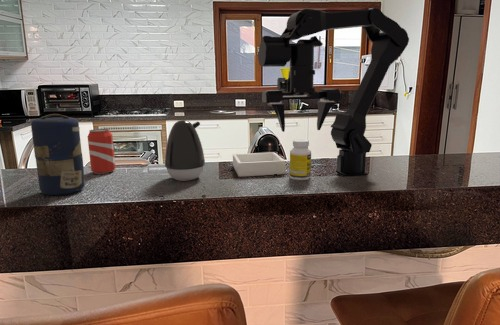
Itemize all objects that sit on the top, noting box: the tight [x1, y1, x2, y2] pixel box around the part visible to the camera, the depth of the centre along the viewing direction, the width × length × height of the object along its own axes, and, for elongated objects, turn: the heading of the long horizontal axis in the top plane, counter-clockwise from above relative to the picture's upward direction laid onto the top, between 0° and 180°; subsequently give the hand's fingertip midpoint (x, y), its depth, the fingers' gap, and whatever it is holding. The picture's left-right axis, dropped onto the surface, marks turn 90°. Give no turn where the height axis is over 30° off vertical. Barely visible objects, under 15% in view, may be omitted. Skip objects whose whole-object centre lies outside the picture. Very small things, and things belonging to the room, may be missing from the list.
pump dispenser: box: [164, 119, 206, 182], centre depth 93 cm, size 10×10×15 cm
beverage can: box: [87, 128, 116, 175], centre depth 101 cm, size 6×6×12 cm
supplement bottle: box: [289, 138, 312, 181], centre depth 92 cm, size 5×5×10 cm
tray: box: [232, 151, 286, 177], centre depth 102 cm, size 13×13×4 cm
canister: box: [30, 113, 86, 196], centre depth 82 cm, size 10×10×18 cm
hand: (301, 130), depth 91 cm, fingers open, 9 cm apart
